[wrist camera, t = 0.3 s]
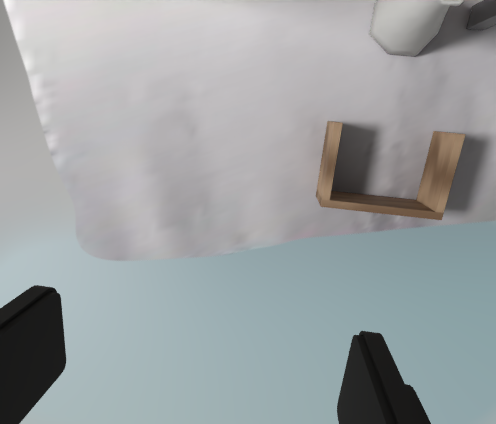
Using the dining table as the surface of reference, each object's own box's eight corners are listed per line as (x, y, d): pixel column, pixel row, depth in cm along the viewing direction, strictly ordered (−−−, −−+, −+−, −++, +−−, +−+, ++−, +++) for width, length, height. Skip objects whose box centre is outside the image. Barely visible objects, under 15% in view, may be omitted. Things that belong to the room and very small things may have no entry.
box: (327, 121, 37) (334, 122, 32) (441, 131, 36) (465, 134, 31) (315, 195, 40) (320, 206, 35) (421, 207, 39) (441, 220, 34)
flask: (457, -3, 33) (530, -52, 23) (417, 69, 35) (469, 51, 25) (392, -35, 32) (440, -97, 23) (356, 39, 34) (385, 10, 25)
